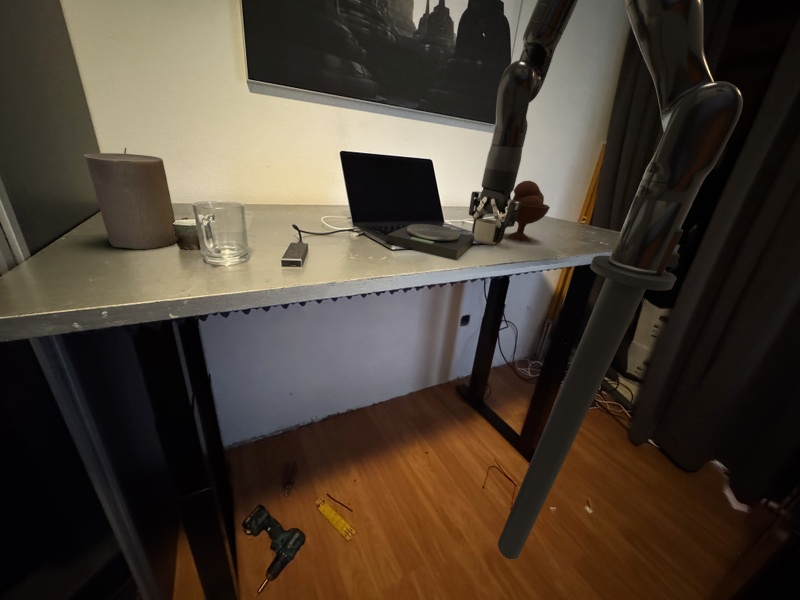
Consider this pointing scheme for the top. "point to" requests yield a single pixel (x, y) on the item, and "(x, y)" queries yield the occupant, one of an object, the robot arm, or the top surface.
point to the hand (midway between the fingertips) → (485, 238)
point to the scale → (431, 243)
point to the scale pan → (433, 232)
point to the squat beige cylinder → (485, 231)
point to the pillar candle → (133, 199)
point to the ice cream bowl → (528, 207)
